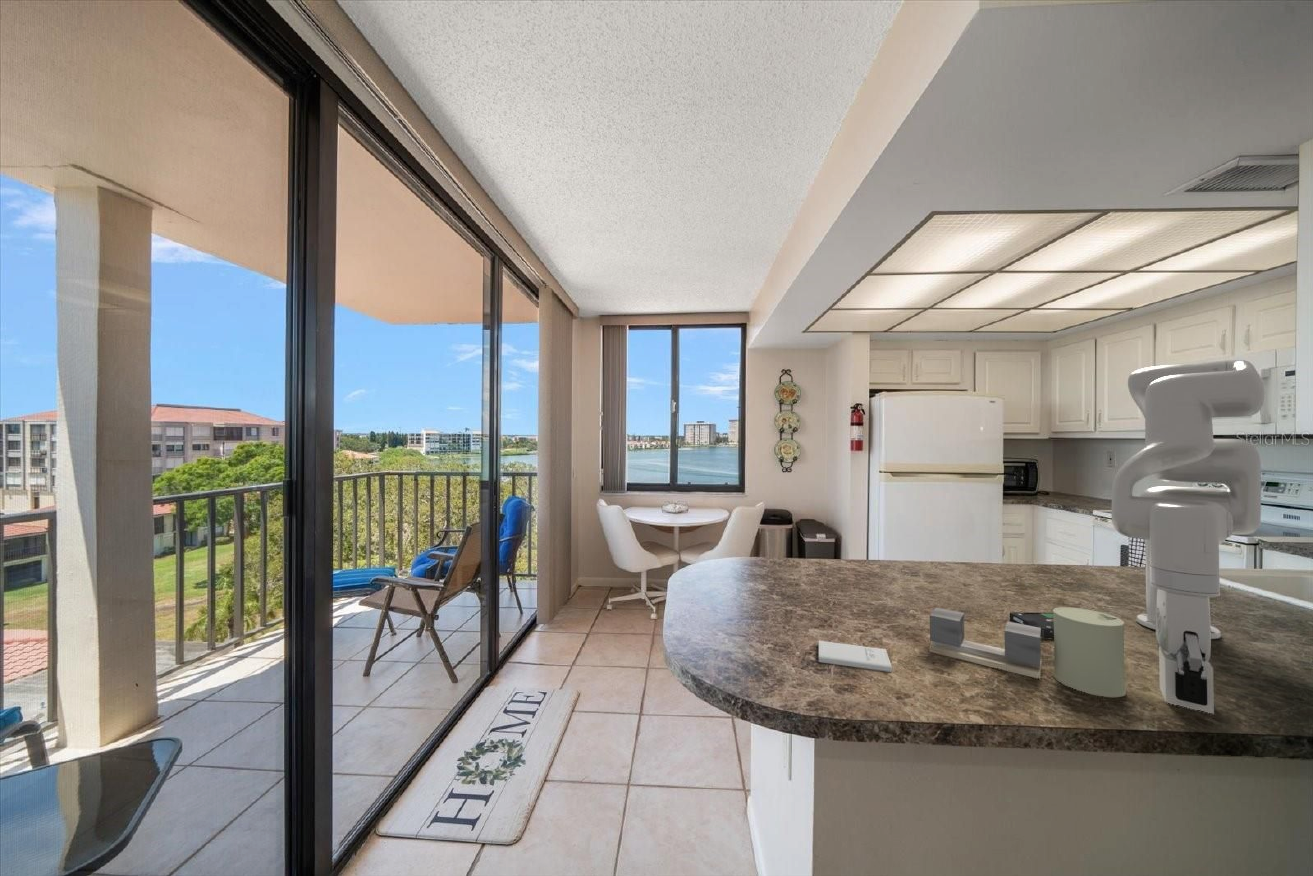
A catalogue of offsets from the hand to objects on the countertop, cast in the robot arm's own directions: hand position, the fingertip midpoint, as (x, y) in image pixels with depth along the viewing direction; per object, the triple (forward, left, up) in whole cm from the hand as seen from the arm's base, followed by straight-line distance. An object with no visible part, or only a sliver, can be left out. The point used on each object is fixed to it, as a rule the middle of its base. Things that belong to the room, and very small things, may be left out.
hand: (1185, 690), depth 76 cm
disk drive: (-25, -15, -2) cm, 30 cm away
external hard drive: (+19, -45, -2) cm, 49 cm away
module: (0, 0, -2) cm, 2 cm away
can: (+3, -12, -2) cm, 12 cm away
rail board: (+3, -26, -2) cm, 27 cm away
